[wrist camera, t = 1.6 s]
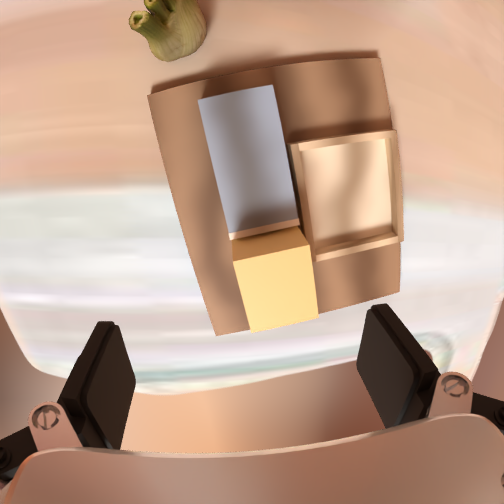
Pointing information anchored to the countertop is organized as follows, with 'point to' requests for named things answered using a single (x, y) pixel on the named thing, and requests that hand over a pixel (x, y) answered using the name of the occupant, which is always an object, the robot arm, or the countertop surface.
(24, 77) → the countertop surface
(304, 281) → the block
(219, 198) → the board
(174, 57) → the fennel bulb
